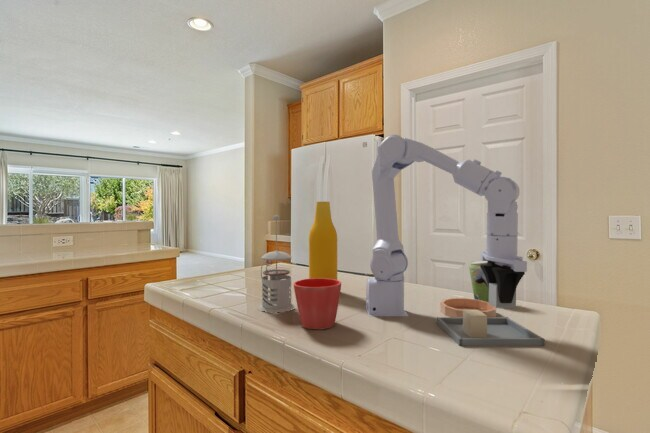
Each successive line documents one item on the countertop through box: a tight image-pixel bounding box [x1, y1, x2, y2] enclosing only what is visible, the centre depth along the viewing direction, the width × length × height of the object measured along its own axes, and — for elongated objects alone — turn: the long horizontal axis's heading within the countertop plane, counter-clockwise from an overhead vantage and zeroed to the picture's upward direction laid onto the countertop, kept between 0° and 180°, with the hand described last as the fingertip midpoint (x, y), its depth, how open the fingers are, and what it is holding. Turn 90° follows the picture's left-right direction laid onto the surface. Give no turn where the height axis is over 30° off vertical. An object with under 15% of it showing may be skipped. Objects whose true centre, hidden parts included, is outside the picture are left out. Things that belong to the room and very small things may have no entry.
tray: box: [436, 316, 546, 347], centre depth 70 cm, size 16×13×2 cm
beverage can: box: [468, 260, 489, 302], centre depth 94 cm, size 6×7×12 cm
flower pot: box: [293, 278, 342, 330], centre depth 77 cm, size 11×11×10 cm
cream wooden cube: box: [463, 310, 487, 338], centre depth 69 cm, size 4×3×4 cm
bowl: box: [439, 297, 497, 317], centre depth 83 cm, size 12×12×3 cm
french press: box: [258, 214, 295, 314], centre depth 91 cm, size 10×12×25 cm
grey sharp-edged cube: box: [489, 283, 517, 309], centre depth 70 cm, size 4×3×4 cm
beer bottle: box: [308, 201, 338, 280], centre depth 108 cm, size 9×9×29 cm
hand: (500, 300), depth 70 cm, fingers closed on grey sharp-edged cube, 3 cm apart
